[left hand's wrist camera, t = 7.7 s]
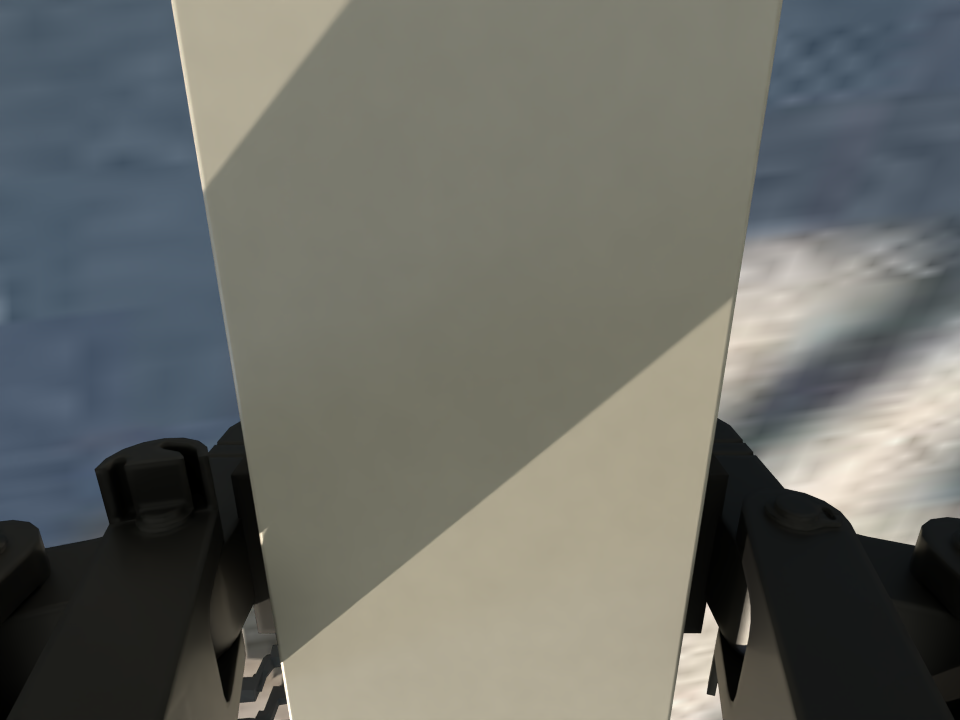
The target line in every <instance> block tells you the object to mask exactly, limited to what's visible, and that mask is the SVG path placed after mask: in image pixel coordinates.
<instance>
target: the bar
mask: <svg viewBox="0 0 960 720" xmlns="http://www.w3.org/2000/svg"><path fill="white" fill-rule="evenodd" d="M782 1H783V0H171V2H172V8H173V14H174V20H175V26H176V32H177V38H178V44H179V50H180V56H181V62H182V68H183V74H184V81H185V87H186V93H187V99H188V105H189V111H190V117H191V123H192V129H193V135H194V141H195V147H196V153H197V159H198V165H199V171H200V178H201V184H202V190H203V196H204V202H205V208H206V214H207V220H208V226H209V232H210V238H211V244H212V250H213V256H214V262H215V268H216V275H217V281H218V287H219V293H220V299H221V305H222V311H223V317H224V323H225V329H226V335H227V341H228V347H229V353H230V359H231V365H232V372H233V378H234V384H235V390H236V396H237V402H238V408H239V414H240V420H241V426H242V432H243V438H244V444H245V450H246V456H247V462H248V469H249V475H250V481H251V487H252V493H253V499H254V505H255V511H256V517H257V523H258V529H259V535H260V541H261V547H262V553H263V559H264V566H265V572H266V578H267V584H268V590H269V596H270V602H271V608H272V614H273V620H274V626H275V632H276V638H277V644H278V650H279V657H280V663H281V669H282V675H283V681H284V687H285V693H286V699H287V705H288V711H289V717H290V720H670V716H671V710H672V704H673V697H674V691H675V685H676V678H677V672H678V665H679V659H680V653H681V646H682V640H683V633H684V627H685V621H686V614H687V608H688V602H689V595H690V589H691V582H692V576H693V570H694V563H695V557H696V550H697V544H698V538H699V531H700V525H701V519H702V512H703V506H704V499H705V493H706V487H707V480H708V474H709V467H710V461H711V455H712V448H713V442H714V436H715V429H716V423H717V416H718V410H719V404H720V397H721V391H722V384H723V378H724V372H725V365H726V359H727V353H728V346H729V340H730V333H731V327H732V321H733V314H734V308H735V301H736V295H737V289H738V282H739V276H740V270H741V263H742V257H743V250H744V244H745V238H746V231H747V225H748V219H749V212H750V206H751V199H752V193H753V187H754V180H755V174H756V167H757V161H758V155H759V148H760V142H761V136H762V129H763V123H764V116H765V110H766V104H767V97H768V91H769V84H770V78H771V72H772V65H773V59H774V53H775V46H776V40H777V33H778V27H779V21H780V14H781V8H782Z"/></svg>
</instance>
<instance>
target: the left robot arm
mask: <svg viewBox="0 0 960 720" xmlns="http://www.w3.org/2000/svg"><path fill="white" fill-rule="evenodd" d="M95 472H96V476H97V480H98V483H99V487H100V491H101V494H102V498H103V502H104V506H105V509H106V513H107V517H108V520H109V526H108V528H107V530H106V532H105V534H104V536H103V537H100V538H96V539H92V540H86V541H81V542H76V543H71V544H66V545H60V546H55V547H50V548H45V547H44V544H43V541H42V538H41V535H40V532H39V529H38V528H37V527H35V526H34V525H33V524H31V523H30V522H25V521H17V520H9V521H0V720H237V718H238V711H239V703H240V696H241V688H242V681H243V673H244V666H245V658H246V652H245V645H244V639H243V634H242V627H243V625H244V622H245V620H246V618H247V616H248V614H249V612H250V610H251V608H252V606H253V605H254V610H255V616H256V622H257V627H258V633H276V632H275V626H274V620H273V614H272V608H271V602H270V596H269V590H268V584H267V578H266V572H265V566H264V559H263V553H262V547H261V541H260V535H259V529H258V523H257V517H256V511H255V505H254V499H253V493H252V487H251V481H250V475H249V469H248V462H247V456H246V450H245V444H244V438H243V432H242V426H241V421H240V422H238V423H237V424H235V425H233V426H232V427H230V428H229V429H228V430H227V431H226V433H225V434H224V435H223V436H222V437H221V438H220V440H219V441H218V442H217V445H214V447H213V448H212V449H211V450H210V451H209V452H208V449H207V446H205V445H204V444H202V443H201V442H200V441H197V440H192V439H187V438H163V439H158V440H153V441H148V442H143V443H140V444H137V445H134V446H131V447H128V448H125V449H123V450H121V451H119V452H117V453H115V454H113V455H112V456H110V457H108V458H106V459H105V460H104V461H103V462H102V463H101V464H100V465H99V466H98V467H97V468H96V469H95ZM706 602H707V604H708V606H709V608H710V610H711V612H712V614H713V616H714V618H715V620H716V622H717V624H718V626H719V629H718V634H717V639H716V644H715V650H714V655H713V660H712V666H711V671H710V676H709V681H708V688H707V694H708V695H713V696H715V693H716V688H717V683H718V687H719V694H720V702H721V709H722V717H723V720H960V519H959V518H950V517H945V518H937V519H931V520H929V521H928V522H926V523H925V524H924V525H922V527H921V530H920V533H919V536H918V539H917V542H916V545H915V546H914V545H909V544H903V543H898V542H893V541H888V540H882V539H877V538H872V537H867V536H863V535H859V534H856V533H855V531H854V529H853V527H852V525H851V523H850V522H849V521H848V520H847V519H846V517H845V516H844V515H843V514H842V513H841V512H840V511H839V510H837V509H836V508H834V507H833V506H831V505H830V504H828V503H827V502H825V501H823V500H821V499H818V498H816V497H813V496H811V495H808V494H806V493H802V492H798V491H793V490H789V489H784V487H783V486H782V485H781V484H780V483H779V482H778V480H777V479H776V478H775V477H774V476H773V475H772V473H771V472H770V471H769V470H768V469H767V468H766V466H765V465H764V464H763V463H762V462H761V461H760V460H759V458H758V457H757V456H756V455H753V451H752V450H751V449H750V448H749V447H748V446H747V444H746V443H743V440H742V439H741V437H740V436H739V435H738V434H737V433H736V432H735V431H734V429H733V428H732V427H731V426H730V425H729V424H727V423H725V422H723V421H722V420H720V419H718V418H717V423H716V429H715V436H714V442H713V448H712V455H711V461H710V467H709V474H708V480H707V487H706V493H705V499H704V506H703V512H702V519H701V525H700V531H699V538H698V544H697V550H696V557H695V563H694V570H693V576H692V582H691V589H690V595H689V602H688V608H687V614H686V621H685V627H684V633H701V631H702V625H703V619H704V614H705V608H706Z"/></svg>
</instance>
